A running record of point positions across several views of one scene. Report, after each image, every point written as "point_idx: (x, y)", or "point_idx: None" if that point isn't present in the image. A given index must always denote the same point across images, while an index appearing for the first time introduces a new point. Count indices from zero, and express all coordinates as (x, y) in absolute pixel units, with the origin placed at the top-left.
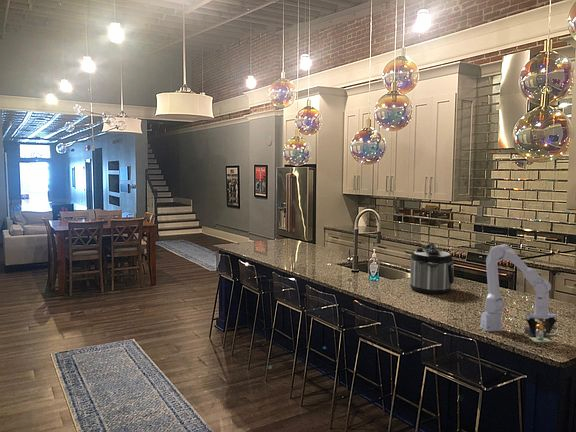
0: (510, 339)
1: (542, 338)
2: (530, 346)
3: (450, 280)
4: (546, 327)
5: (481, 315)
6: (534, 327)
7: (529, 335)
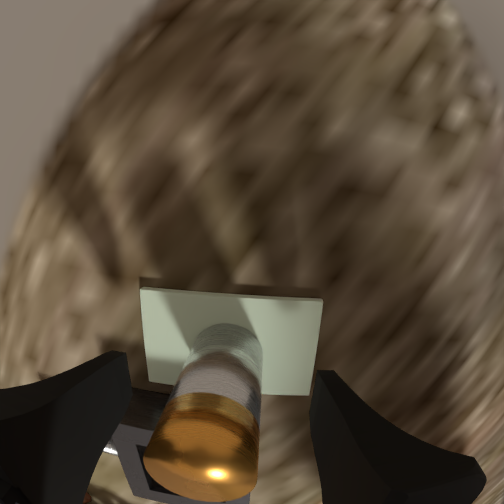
0: (462, 374)
1: (211, 334)
2: (436, 199)
3: None
4: (105, 430)
5: None
6: (360, 421)
7: None
